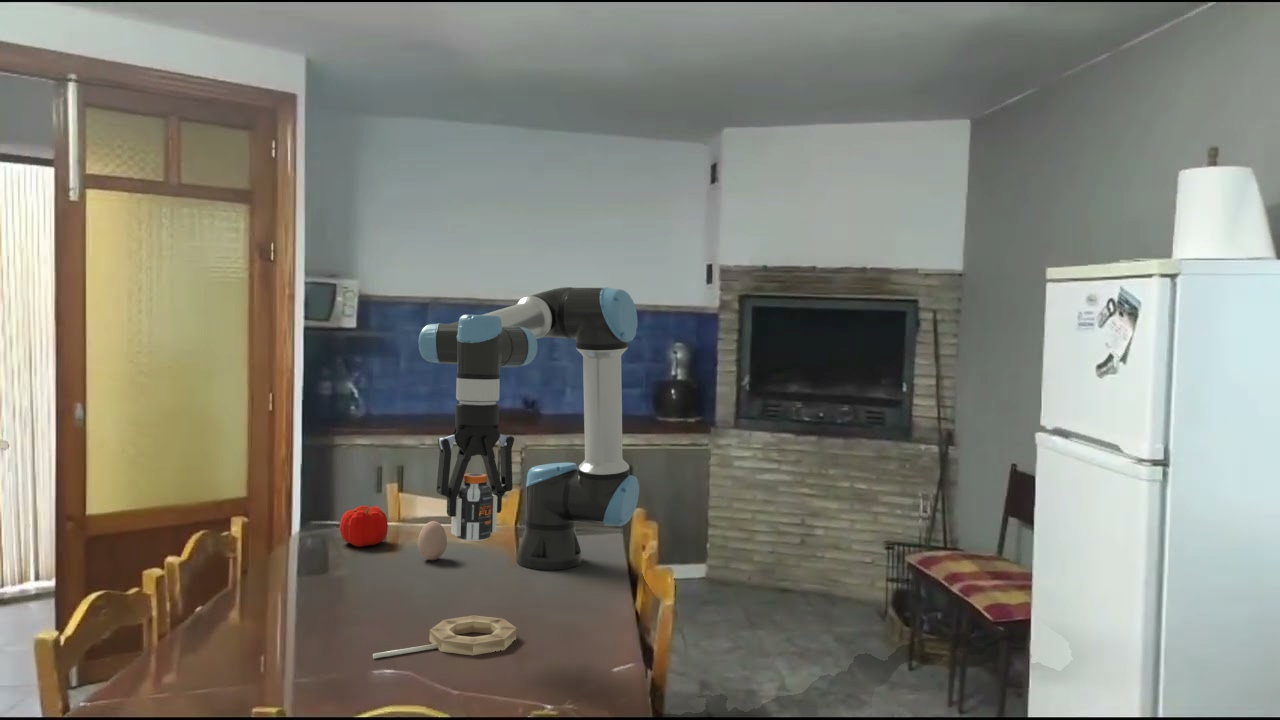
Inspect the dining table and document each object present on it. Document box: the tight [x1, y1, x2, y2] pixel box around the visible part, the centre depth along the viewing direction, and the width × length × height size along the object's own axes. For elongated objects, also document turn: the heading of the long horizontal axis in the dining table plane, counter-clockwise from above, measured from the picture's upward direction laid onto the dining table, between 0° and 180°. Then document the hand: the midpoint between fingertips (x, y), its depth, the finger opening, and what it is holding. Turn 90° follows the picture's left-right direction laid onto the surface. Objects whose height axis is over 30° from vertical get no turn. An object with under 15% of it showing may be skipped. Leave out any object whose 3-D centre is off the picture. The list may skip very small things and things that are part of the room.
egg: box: [417, 520, 448, 561], centre depth 219 cm, size 7×7×9 cm
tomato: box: [339, 505, 389, 548], centre depth 231 cm, size 11×12×9 cm
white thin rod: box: [372, 643, 438, 660], centre depth 159 cm, size 11×1×1 cm, turn 122°
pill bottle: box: [456, 472, 493, 542], centre depth 166 cm, size 6×6×11 cm
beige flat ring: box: [429, 614, 518, 656], centre depth 166 cm, size 14×14×2 cm
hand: (473, 532), depth 166 cm, fingers closed on pill bottle, 6 cm apart
